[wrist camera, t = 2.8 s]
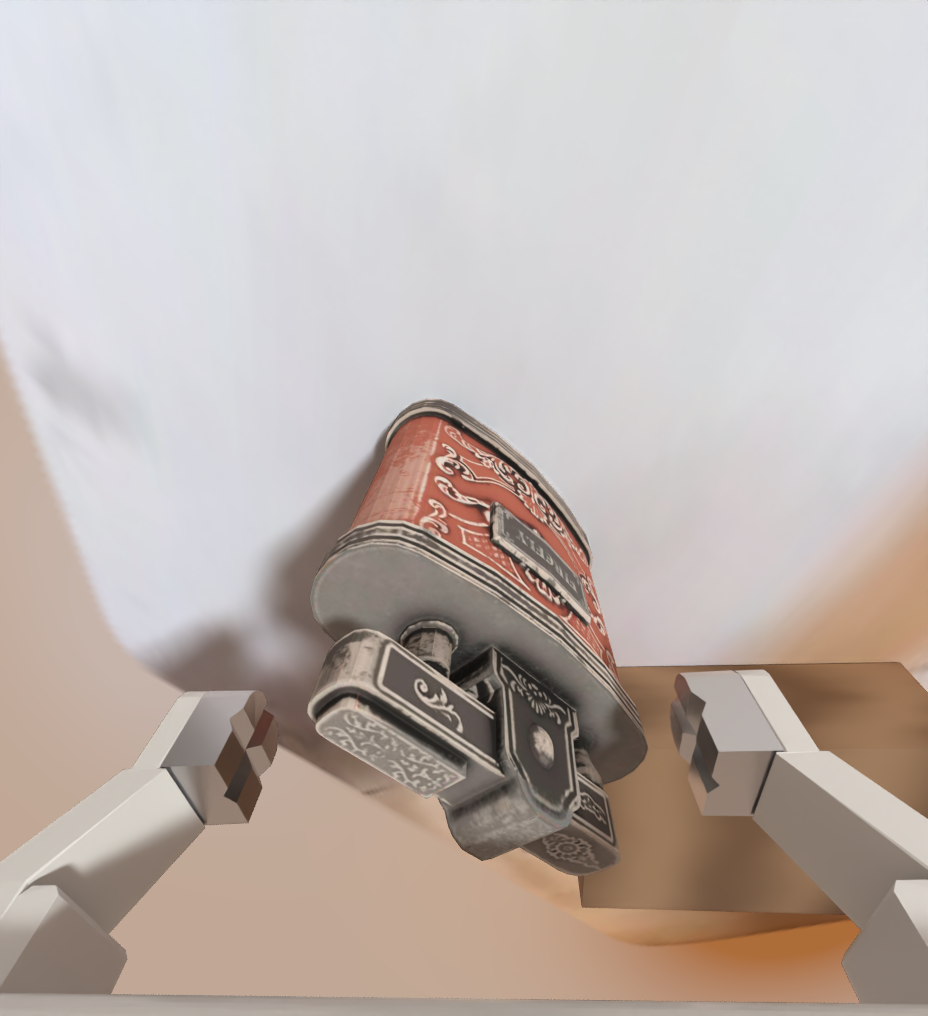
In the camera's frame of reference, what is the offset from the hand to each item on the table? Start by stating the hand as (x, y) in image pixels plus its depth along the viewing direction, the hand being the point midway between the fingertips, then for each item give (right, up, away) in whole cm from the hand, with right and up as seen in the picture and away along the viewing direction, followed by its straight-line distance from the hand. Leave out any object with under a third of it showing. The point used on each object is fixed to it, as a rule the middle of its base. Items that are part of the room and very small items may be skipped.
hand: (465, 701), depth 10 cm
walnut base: (+11, -7, +12) cm, 18 cm away
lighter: (+1, +4, +6) cm, 8 cm away
